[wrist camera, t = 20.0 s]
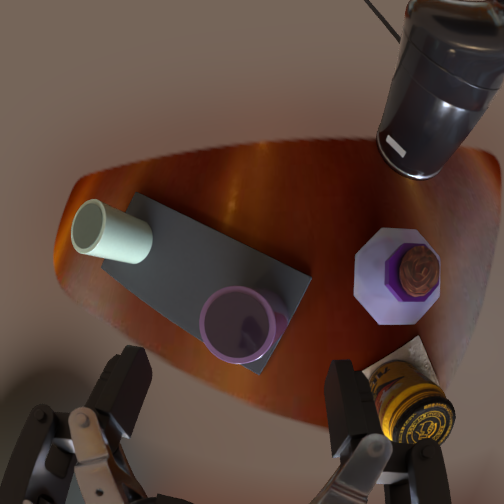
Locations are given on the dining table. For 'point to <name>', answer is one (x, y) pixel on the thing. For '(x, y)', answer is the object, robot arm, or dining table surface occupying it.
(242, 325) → the purple tumbler
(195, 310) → the placemat
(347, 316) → the dining table surface
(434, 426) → the condiment
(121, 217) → the celadon tumbler
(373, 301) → the potion bottle
